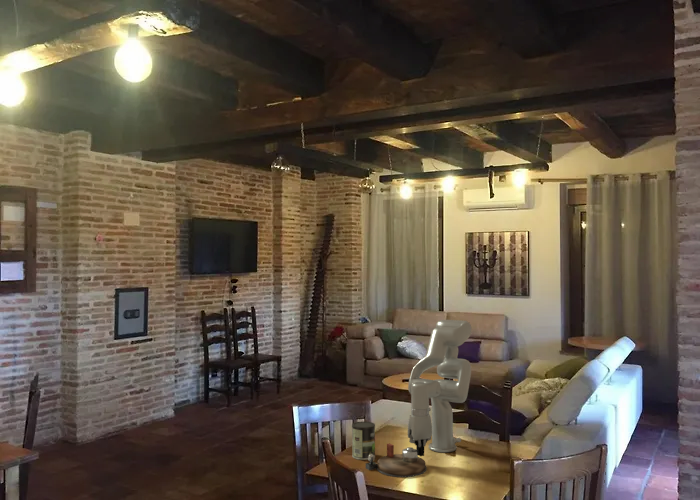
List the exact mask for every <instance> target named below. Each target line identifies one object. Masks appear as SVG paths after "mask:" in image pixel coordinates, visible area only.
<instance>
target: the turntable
mask: <svg viewBox="0 0 700 500" xmlns="http://www.w3.org/2000/svg"><path fill="white" fill-rule="evenodd" d="M377 464H378V469H379V470H380V471H382V472H384V473H387V474H391V475H400V476H406V475H415V474H418V473H421V472H423V471H424V470H425V465H426V460H424V459H423V458H422V457H421V456H418V461H417V462H414V463H407V462H404V461H403V460H402V454H400V453H397V454H396V453H395V454H394V444H393V443H386V455H385V456H381V457H380V458H379V459H378V460H377Z"/></svg>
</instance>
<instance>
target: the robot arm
mask: <svg viewBox="0 0 700 500" xmlns="http://www.w3.org/2000/svg"><path fill="white" fill-rule="evenodd" d="M472 330H473V329H472V324H471V323H470V322H469V321H467V320H461V319H459V320H458V319H457V320H456V319H440V320H438V321H437V322H436V324H435V328H433V329H432V330H431V333H430V337H429V341H428V344H427V345H428V346H427V348H426V352H425V356H424V357H423V358H422V359H420V360H419V361H417V363H416V364H415V365H414V366H413V368H412V370H411V372H410V376H409V380H408V384H407V385H408V386H407V388H408V392H409V394H410V397H411V399H410V400H411V407H410V408H411V410H410V411H411V414H410V415H409V418H408V421H407V422H408V423H407V438H409V443H410V444H414V445H415V446H416V448H415V449H416V450H417V451H418V457H424V456H425V447H426V445H427V443H428V441H431V443H429V444H428V449H429V450H431V451H433V452H437V453H452V452H454V451H456V450H457V445H456V444H457V443H461V442H462V438H461V437H454V433H453V432H454V426H453V425H454V419H453V413H454V412H453V408H452V406H451V404H450V402H452V403H458V404H459V403H461V404H462V403H464V402H465V401H467V398H468V393H469V388H470V382H471V376H472V366H471V362H470V361H469V360H467V359H465V358H458V355H459V347H460V346H462V345H463V344H464V343H465V342H466V341H467V340H468V339H469V338H470V336H471V335H472ZM436 366H437V367H436ZM433 367H434V368H435V367H436V374H437V375H438V377H440V378H439V379H429V378H427V379H426V378H420V377H421V376H422V374H423V373H424V372H425V371H426V370H429V369H431V368H433ZM442 378H447V379H442ZM450 379H453V380H450ZM430 401H431V402H430ZM430 403H431V407H430ZM430 412H431V414H430Z"/></svg>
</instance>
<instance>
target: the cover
mask: <svg viewBox="0 0 700 500" xmlns="http://www.w3.org/2000/svg"><path fill="white" fill-rule="evenodd" d="M401 452H402V460H403V461H404V462H407V463H414V462H417V461H418V457H419V455H418V451H417V450H416V448H414V447H411V446H409V447H406V448H403V449H402V451H401Z"/></svg>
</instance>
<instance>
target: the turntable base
mask: <svg viewBox="0 0 700 500" xmlns="http://www.w3.org/2000/svg"><path fill="white" fill-rule="evenodd" d="M427 469H428V466H427V465H426V464H425V470H424V471H423V472H421V473H418V474H415V475H406V476H400V475H391V474H387V473H384V472H382V471H380V470H379V469H378V463H377V469H376V471H377V472H378V473H380V474H382V475H384V476H388V477H392V478H393V477H394V478H412V477H413V478H414V477H418V476H421V475H423V474H424V473H426V472H427Z"/></svg>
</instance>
